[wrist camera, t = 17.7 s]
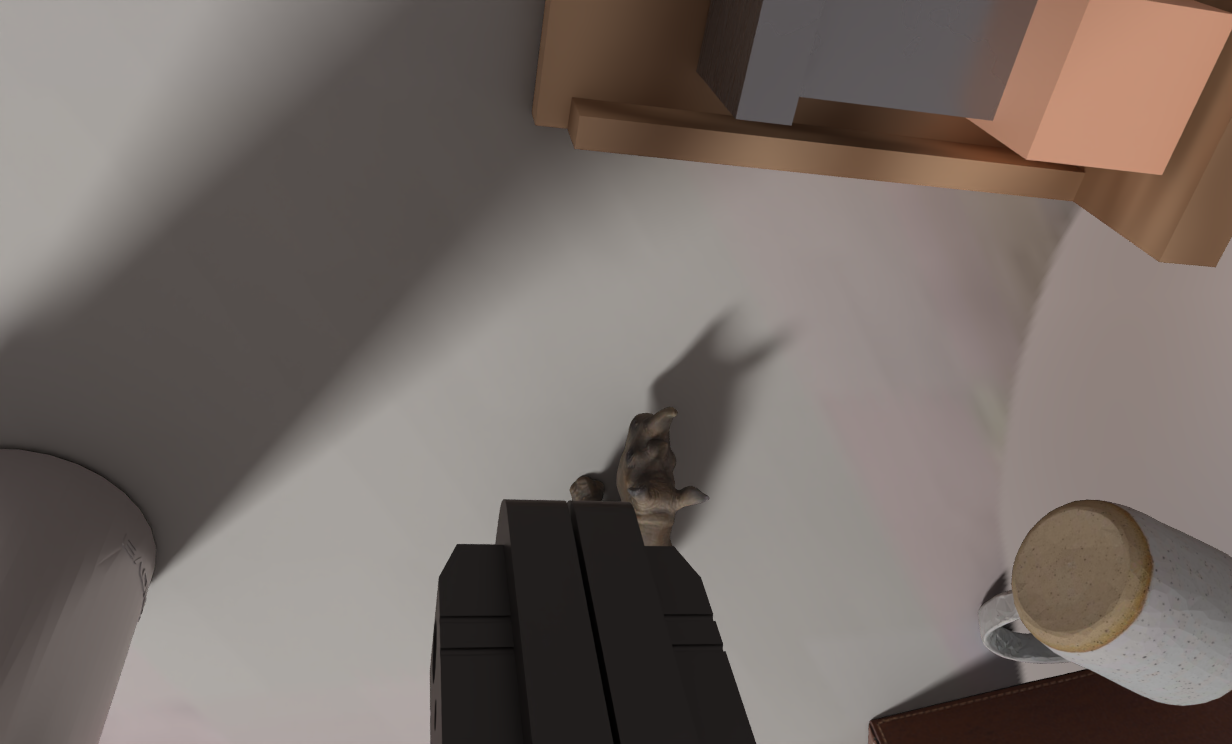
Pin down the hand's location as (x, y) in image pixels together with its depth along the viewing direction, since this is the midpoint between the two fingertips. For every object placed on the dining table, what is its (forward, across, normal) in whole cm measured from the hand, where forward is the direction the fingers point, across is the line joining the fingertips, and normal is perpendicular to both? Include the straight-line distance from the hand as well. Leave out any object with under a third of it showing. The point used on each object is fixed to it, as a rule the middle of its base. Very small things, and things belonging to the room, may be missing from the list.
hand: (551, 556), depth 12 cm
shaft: (+20, -11, -3) cm, 23 cm away
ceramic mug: (+22, -31, +21) cm, 43 cm away
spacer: (+21, -17, -3) cm, 27 cm away
